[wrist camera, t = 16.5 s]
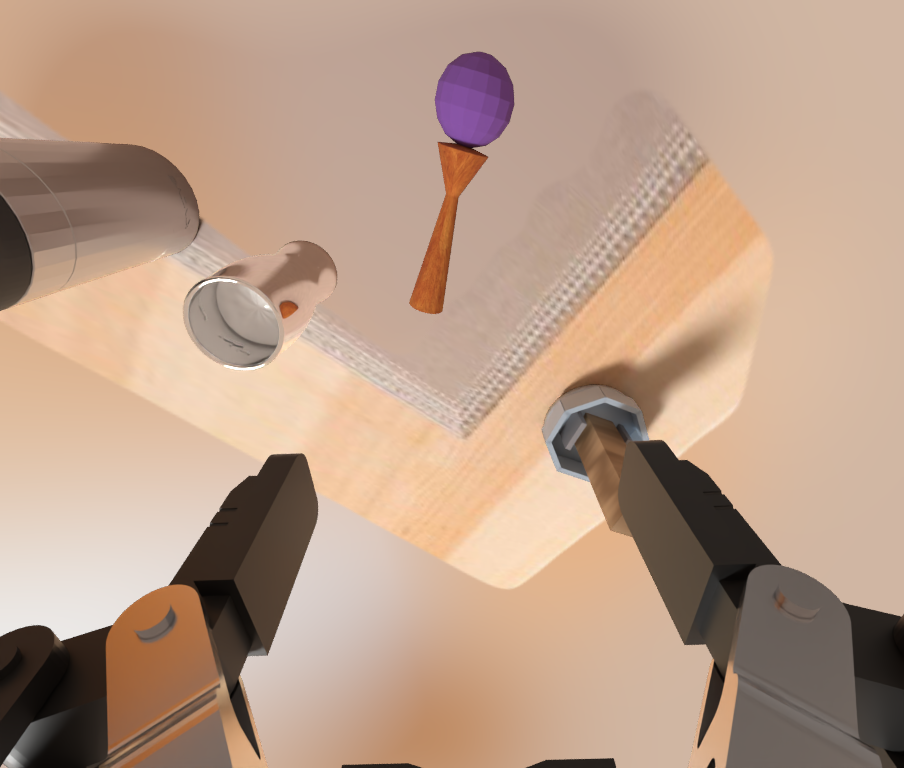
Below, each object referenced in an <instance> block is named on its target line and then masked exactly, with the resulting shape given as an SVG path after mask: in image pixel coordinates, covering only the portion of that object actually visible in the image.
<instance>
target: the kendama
mask: <svg viewBox="0 0 904 768" xmlns="http://www.w3.org/2000/svg"><path fill="white" fill-rule="evenodd" d="M513 91H514V90H513V84H512V81H511V79H510V77H509V75H508V72H507V70H506V68H505V67H504V66H503V65H502V64H501V63H500V62H499V61H498V60H496V59H495V58H494V57H493V56H492V55H489V54H487V53H483V52H473V53H467V54H462V55H461V56H459V57H458V58H457V59H455V60H454V61H452V62H451V63H450V64H448V66H447V68H446V69H445V71H444V72H443V74H442V76H441V78H440V79H439V81H438V86H437V91H436V96H435V104H436V112H437V118H438V120H439V122H440V124H441V126H442V128H443V130H444V132H445V134H446V135H447V136H449V137H450V138H451V139H452V140H453V141H455V142H456V143H457V144H455V143H444V142H438V147H439V153H440V159H441V165H442V171H443V177H444V183H445V190H446V196H445V199H444V202H443V205H442V208H441V211H440V213H439V216H438V219H437V222H436V226H435V228H434V231H433V235H432V237H431V240H430V243H429V246H428V249H427V252H426V255H425V258H424V261H423V264H422V267H421V270H420V273H419V276H418V278H417V282H416V284H415V288H414V290H413V293H412V296H411V299H410V302H409V303H410V305H411V306H412V307H413V308H415V309H416V310H419V311H421V312H425V313H430V314H437V313H440V312H442V310H443V303H444V295H445V289H446V281H447V274H448V267H449V260H450V253H451V246H452V239H453V232H454V225H455V218H456V210H457V204H458V197H459V196H460V194H461V193H462V192H463V190H464V189H465V188H466V187H467V185H468V184H469V182H470V181H471V180H472V178H473V177H474V176H475V174H476V173H477V172H478V170H479V169H480V168H481V166H482V165H483V164H484V162H485V161H486V160H487V158H488V157H487V156H486V155H484V154H482V153H480V152H478V151H476V150H474V149H472V148H474V147H480V146H486V145H488V144H489V143H491V142H492V141H494V140H495V139H497V138H498V137H499V136H500V135H501V134H502V132H503V131H504V129H505V128H506V126H507V125H508V124H509V121H510V118H511V114H512V111H513V107H514V92H513Z"/></svg>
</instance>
